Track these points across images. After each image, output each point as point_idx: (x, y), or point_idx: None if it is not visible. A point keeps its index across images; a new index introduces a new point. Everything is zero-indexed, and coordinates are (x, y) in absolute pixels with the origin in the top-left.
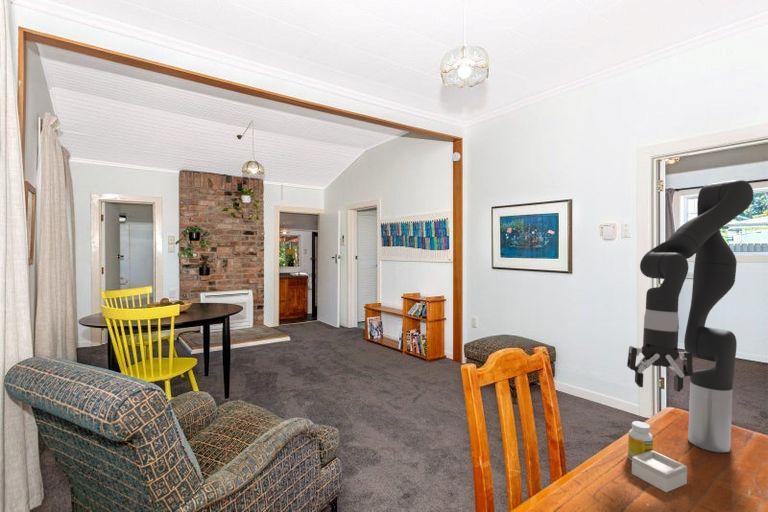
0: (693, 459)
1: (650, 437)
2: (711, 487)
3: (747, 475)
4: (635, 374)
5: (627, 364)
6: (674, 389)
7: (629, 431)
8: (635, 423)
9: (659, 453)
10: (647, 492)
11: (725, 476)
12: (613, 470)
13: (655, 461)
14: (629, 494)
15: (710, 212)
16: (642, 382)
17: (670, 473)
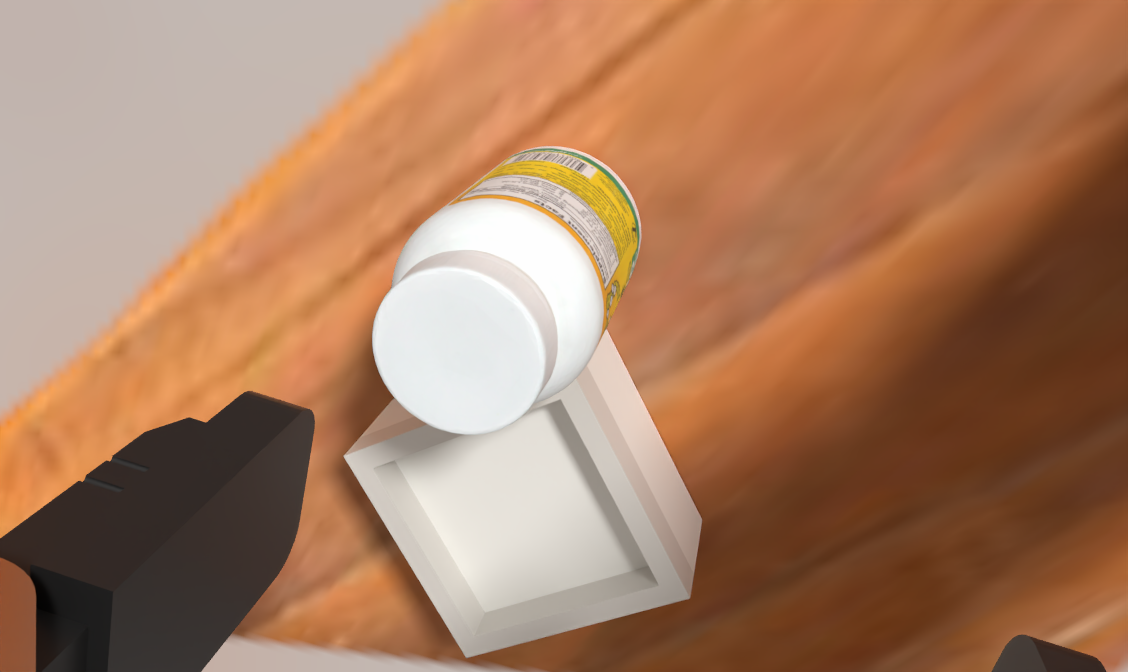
0: (1075, 224)
1: (538, 398)
2: (846, 566)
3: None
4: (15, 554)
5: None
6: (1002, 662)
7: (398, 265)
8: (407, 328)
9: (597, 424)
10: (392, 566)
11: (1104, 468)
12: (292, 354)
13: (539, 447)
14: (284, 570)
15: None
16: (223, 624)
17: (501, 647)
